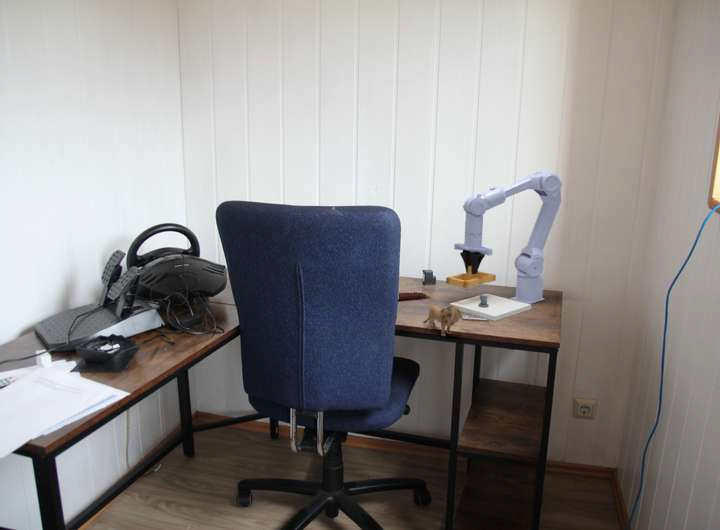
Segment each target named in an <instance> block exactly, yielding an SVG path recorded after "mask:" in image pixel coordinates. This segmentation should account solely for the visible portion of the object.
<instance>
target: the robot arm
mask: <svg viewBox="0 0 720 530" xmlns="http://www.w3.org/2000/svg"><path fill="white" fill-rule="evenodd" d="M562 185H563V183H562V181H561V179H560V178H559V176H558V175H557V174H556V173H552V172H550V173H547V172H541V171H537V172H535V173H533V174H529V175H527V176H524V177H523V178H521V179H519V180H517V181H515V182H513V183H511V184H509V185H507V186H505V187H502V188H501V187H498V186H496V187H495V186H492V187H489V190H487V191H484V192H483V193H482V192H481V193H477V194H476V196H470V197H468V198H467V199H466V200H465V201H464V204H463V205H462V207H463V208H462V209H463V211H464V212H465V221H464V243H454V244H453V249H454V250H458V251H459V250H460V251H462V252H460V253H459V255H460V257H461V259H462V260H463V261H462V262H463V265H464V267H465V273H468V266H471V265H472V269H471V272H472V274H477V272H478V271H479V268H480V265H481V263H482V261H483V259H484V257H486V256H492V255H493V249H492V248H488V247H485V246H482V245H483V243H482V242H483V228H484V227H483V225H484V214H485V213H486V212H487V211H489V210H491V209H493V208H496V207H497V206H500V205H502V204H505V201H506V198H509V197H512V196H514V195H516V194H517V195H518V194H519V193H521V192H524V191H526V190H533V191H534V192H535V193H536V194H538V195H539V198H540V200H541V201H542V204H541V207H540V210H539V212H538V215H537V217H536V221H535V223H534V225H533V229H532V231H531V234H530V236H529V239H528V242H527V245H525V247H523V248H522V249H521V251H520V253H519V255H517V257H516V258H515V260H514V267H515V269H516V270H517V273H516V285H515V286H516V288H515V296H512V297H510V298H509V299H511V300H515V301H519V302H523V303H527V304H531V305H532V304H535V303H538V302H541V301H544V300H545V298H544V297H543V292H544V279H543V277H542V275H541V274H542V272H543V270H544V260H545V255H544V249H545V248H544V247H545V246H546V242H547V240H548V237H549V235H550V232H551V231H552V230H551V229H552V227H553V224H554V222H555V218H556V217H557V214H558V211H559V209H560V206H561V204H562V194H561V193H562V190H561V188H562Z"/></svg>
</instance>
